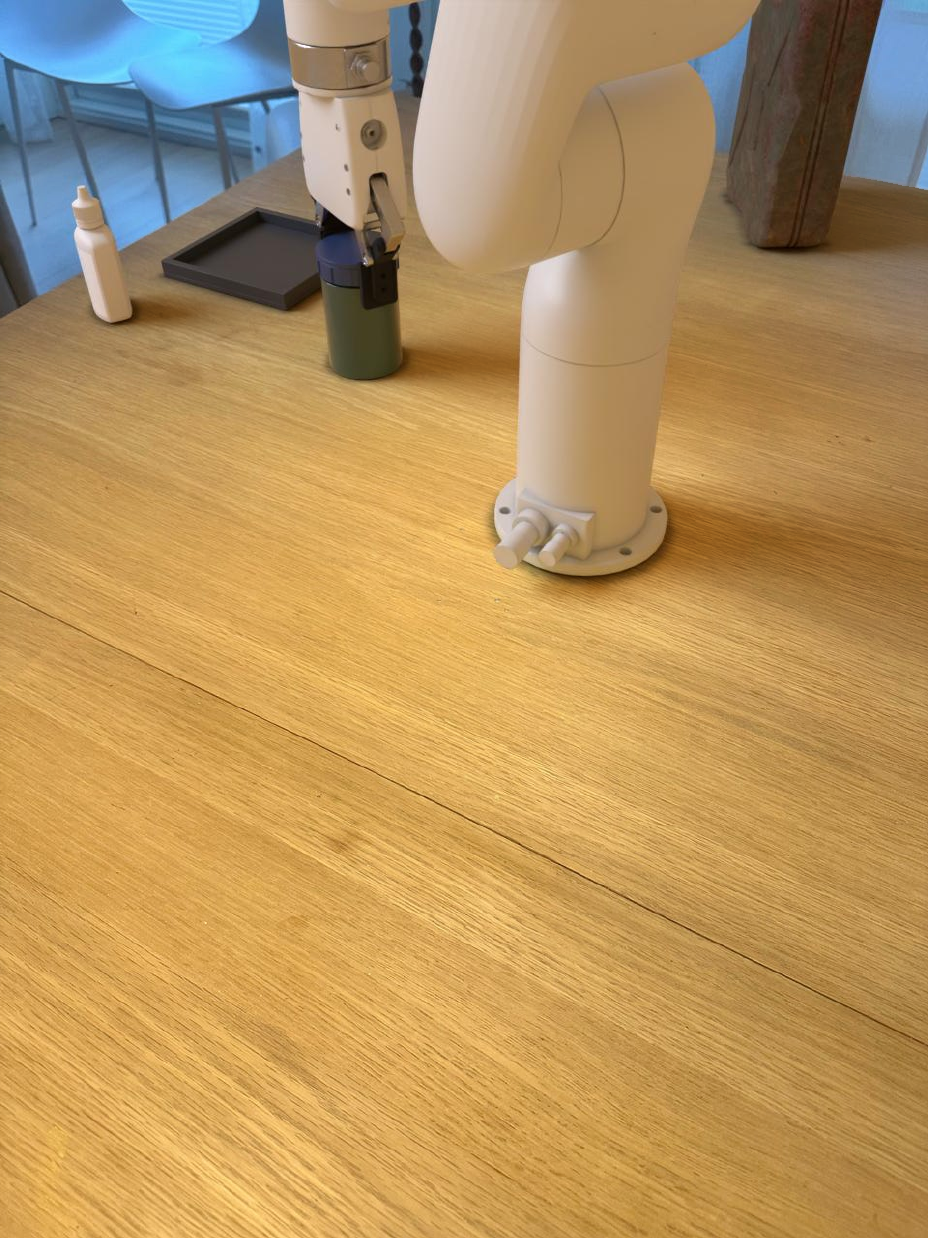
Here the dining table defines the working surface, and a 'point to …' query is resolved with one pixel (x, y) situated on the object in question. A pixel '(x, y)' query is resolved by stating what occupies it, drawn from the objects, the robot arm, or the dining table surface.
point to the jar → (360, 333)
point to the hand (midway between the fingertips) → (359, 285)
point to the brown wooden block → (797, 115)
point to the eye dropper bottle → (100, 260)
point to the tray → (253, 259)
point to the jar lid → (342, 257)
